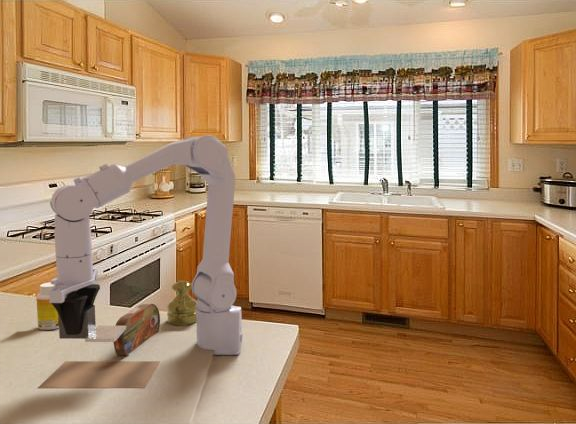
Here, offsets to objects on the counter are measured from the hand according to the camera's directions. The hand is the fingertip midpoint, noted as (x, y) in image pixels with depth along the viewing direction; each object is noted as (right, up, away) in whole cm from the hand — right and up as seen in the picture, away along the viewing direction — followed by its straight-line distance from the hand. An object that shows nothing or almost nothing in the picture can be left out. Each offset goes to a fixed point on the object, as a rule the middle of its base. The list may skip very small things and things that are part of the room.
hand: (78, 329), depth 81 cm
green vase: (+11, -6, +31) cm, 34 cm away
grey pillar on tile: (+2, -1, 0) cm, 3 cm away
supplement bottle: (-18, -6, +27) cm, 33 cm away
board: (+4, -9, +1) cm, 10 cm away
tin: (+6, -8, +15) cm, 18 cm away
